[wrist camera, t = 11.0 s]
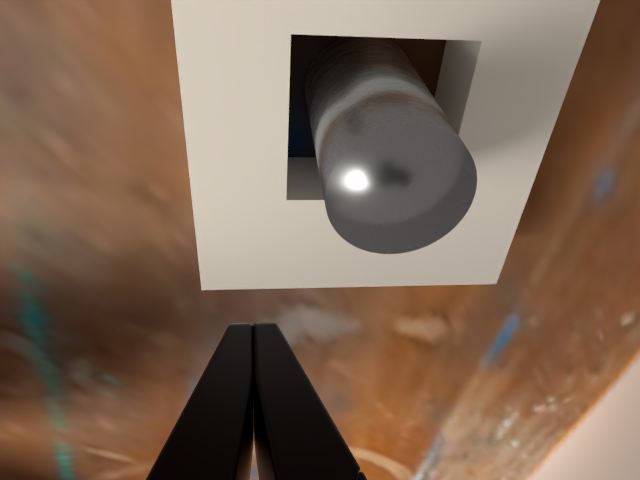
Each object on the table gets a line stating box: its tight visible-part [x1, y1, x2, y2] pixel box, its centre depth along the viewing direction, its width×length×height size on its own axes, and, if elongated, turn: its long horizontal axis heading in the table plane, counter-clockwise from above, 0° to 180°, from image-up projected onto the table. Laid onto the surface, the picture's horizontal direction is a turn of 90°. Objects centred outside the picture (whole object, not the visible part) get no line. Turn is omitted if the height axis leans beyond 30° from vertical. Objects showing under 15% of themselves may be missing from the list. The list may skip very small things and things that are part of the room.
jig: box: [171, 0, 600, 290], centre depth 18 cm, size 14×12×3 cm
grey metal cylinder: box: [305, 36, 477, 254], centre depth 16 cm, size 4×4×7 cm
